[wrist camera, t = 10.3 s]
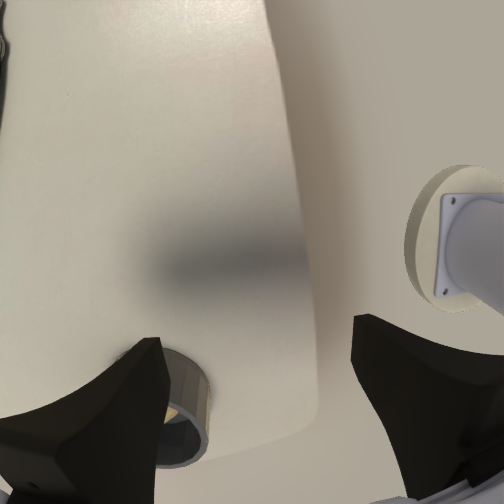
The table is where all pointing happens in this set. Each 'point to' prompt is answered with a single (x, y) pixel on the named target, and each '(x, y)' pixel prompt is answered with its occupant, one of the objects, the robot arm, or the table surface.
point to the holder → (184, 414)
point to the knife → (1, 43)
